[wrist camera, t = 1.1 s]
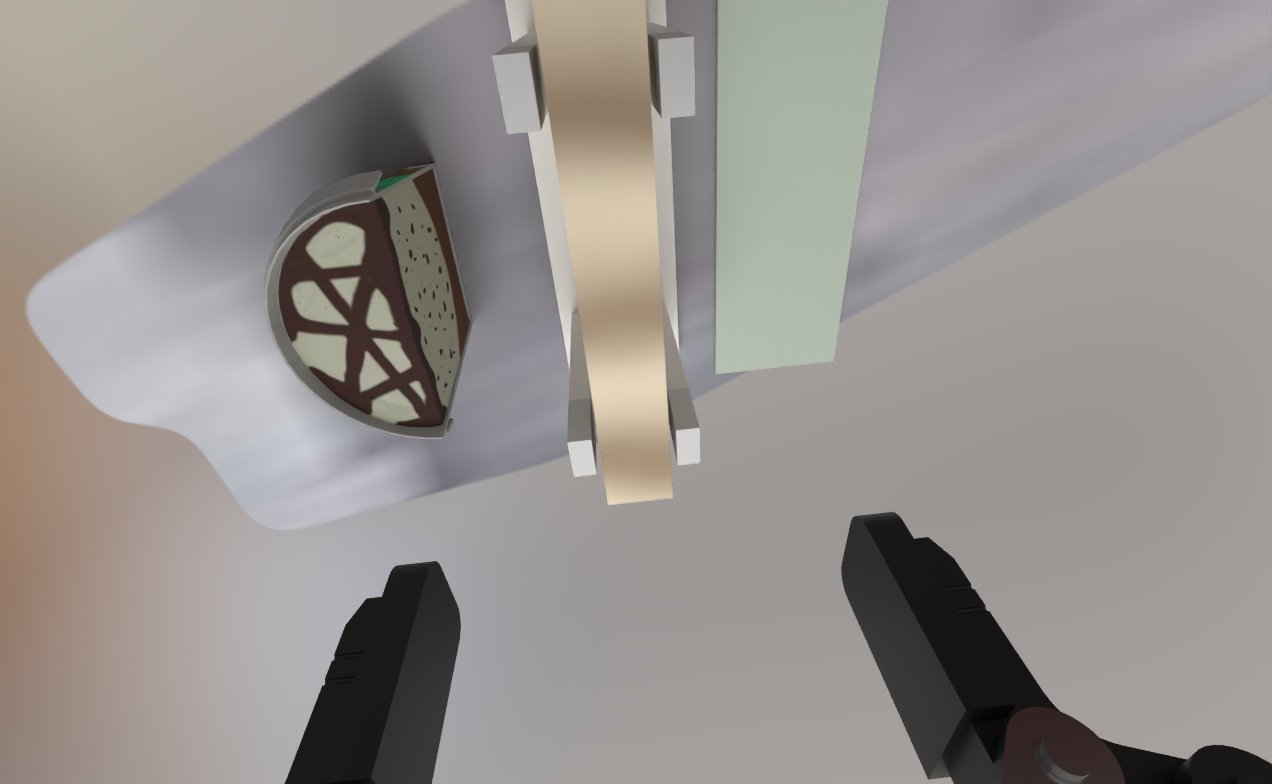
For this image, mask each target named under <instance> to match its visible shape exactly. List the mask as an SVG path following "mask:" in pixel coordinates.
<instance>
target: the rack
mask: <svg viewBox="0 0 1272 784" xmlns="http://www.w3.org/2000/svg"><path fill="white" fill-rule="evenodd" d="M505 4H506V10H507V15H508V21H509V27H510V33H511V38H512V43H511V44H510V45H508V46H507V47H505V48H503V49H502V50H500V51H499V52H497V53H495V54H494V55H492V58H493V63H494V69H495V74H496V79H497V84H498V89H499V94H500V99H501V104H502V110H503V115H504V120H505V125H506V130H507V134H515V133H525V132H528V136H529V141H530V147H531V153H532V158H533V164H534V170H535V176H536V181H537V187H538V193H539V198H540V204H541V210H542V216H543V221H544V227H545V233H546V239H547V244H548V250H549V256H550V261H551V267H552V273H553V279H554V284H555V290H556V296H557V301H558V307H559V313H560V319H561V324H562V330H563V336H564V341H565V347H566V353H567V359H568V364H569V370H570V378H569V409H568V440H567V443H568V448H569V453H570V458H571V463H572V469H573V473H574V476H575V477H578V476H586V475H595V474H597V471H596V470H597V468H596V436H595V431H597V428H596V421H595V415H594V408H593V402H592V395H591V388H590V382H589V375H588V369H587V362H586V356H585V349H584V342H583V336H582V329H581V323H580V316H579V310H578V303H577V296H576V290H575V283H574V277H573V270H572V264H571V257H570V250H569V244H568V237H567V231H566V224H565V218H564V211H563V204H562V198H561V191H560V185H559V178H558V172H557V165H556V158H555V152H554V145H553V139H552V132H551V126H550V119H549V112H548V106H547V99H546V93H545V86H544V80H543V73H542V66H541V60H540V53H539V47H538V40H537V34H536V27H535V20H534V14H533V7H532V1H531V0H505ZM645 6H646V24H647V42H648V60H649V78H650V96H651V114H652V132H653V151H654V169H655V187H656V205H657V223H658V241H659V259H660V277H661V295H662V313H663V332H664V350H665V368H666V386H667V404H668V422H669V426H670V430H671V435H672V440H673V445H674V450H675V455H676V459H677V464H678V465H685V464H694V463H700V428H699V424H698V420H697V417H696V413H695V409H694V406H693V402H692V398H691V395H690V391H689V387H688V384H687V380H686V377H685V373H684V369H683V366H682V362H681V358H680V355H679V339H678V312H677V286H676V259H675V233H674V206H673V180H672V153H671V127H670V118H676V117H686V116H695V66H694V36H692V35H689V34H686V33H683V32H680V31H677V30H674V29H671V28H668V27H667V21H666V0H645Z"/></svg>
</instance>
